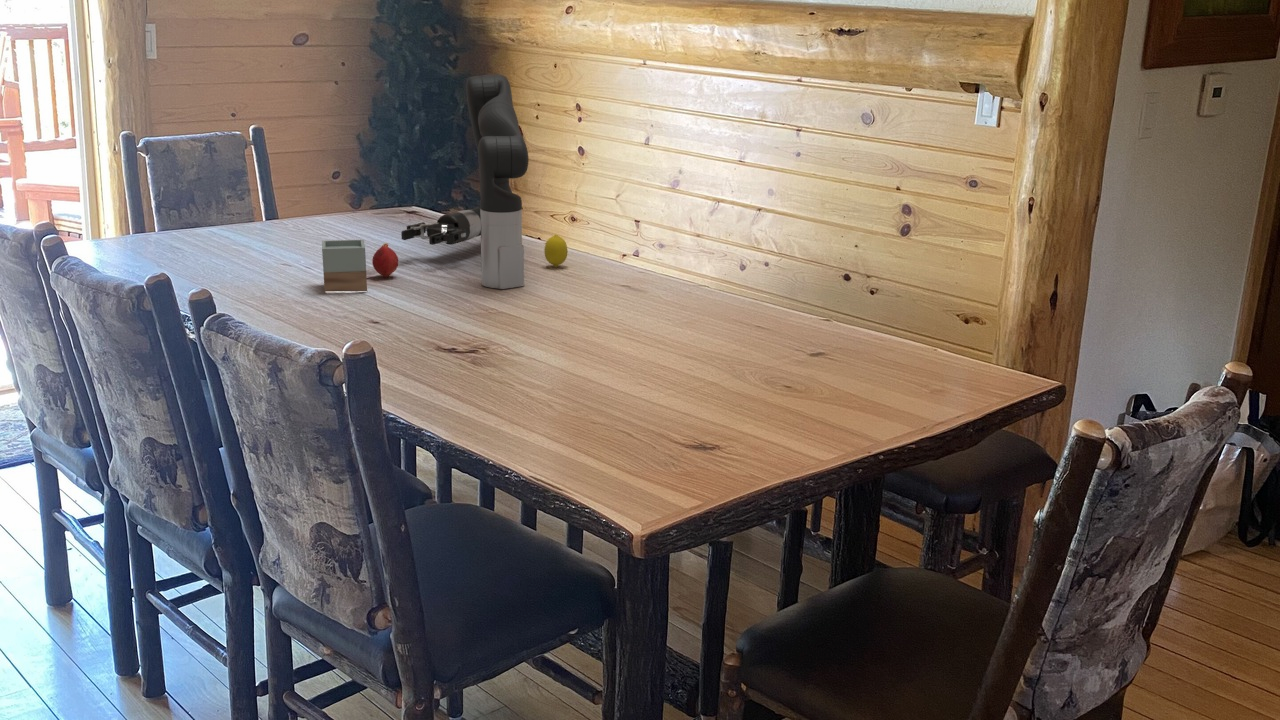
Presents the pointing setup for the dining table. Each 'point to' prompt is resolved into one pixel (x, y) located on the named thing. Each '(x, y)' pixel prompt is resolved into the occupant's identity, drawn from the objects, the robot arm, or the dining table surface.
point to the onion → (385, 261)
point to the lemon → (556, 250)
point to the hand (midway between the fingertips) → (416, 238)
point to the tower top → (343, 256)
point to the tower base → (345, 281)
